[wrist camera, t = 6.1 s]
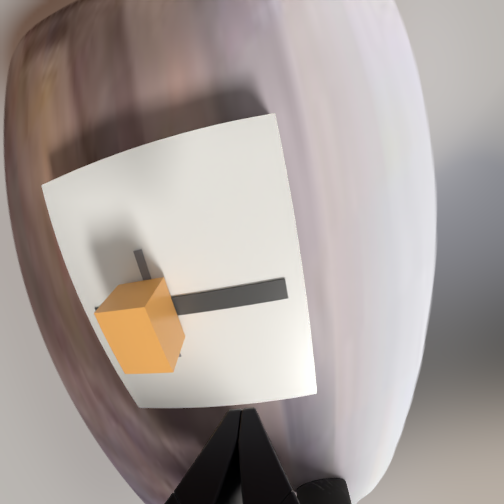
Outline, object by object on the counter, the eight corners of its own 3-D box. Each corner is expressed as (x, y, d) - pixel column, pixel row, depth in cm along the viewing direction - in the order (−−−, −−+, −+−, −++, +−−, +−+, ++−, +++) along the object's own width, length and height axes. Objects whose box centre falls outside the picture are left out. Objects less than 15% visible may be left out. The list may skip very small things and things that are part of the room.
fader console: (312, 370, 21) (317, 394, 19) (147, 387, 22) (138, 408, 20) (272, 118, 15) (275, 112, 13) (63, 179, 16) (40, 185, 14)
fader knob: (185, 336, 17) (173, 372, 14) (142, 340, 17) (125, 374, 14) (163, 276, 15) (144, 306, 12) (118, 284, 16) (93, 313, 13)
